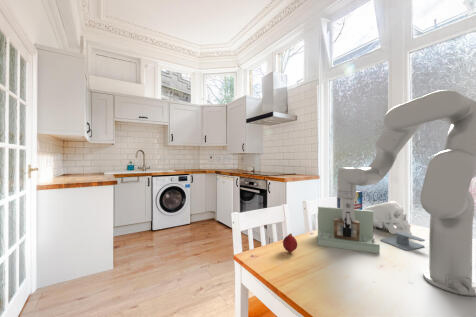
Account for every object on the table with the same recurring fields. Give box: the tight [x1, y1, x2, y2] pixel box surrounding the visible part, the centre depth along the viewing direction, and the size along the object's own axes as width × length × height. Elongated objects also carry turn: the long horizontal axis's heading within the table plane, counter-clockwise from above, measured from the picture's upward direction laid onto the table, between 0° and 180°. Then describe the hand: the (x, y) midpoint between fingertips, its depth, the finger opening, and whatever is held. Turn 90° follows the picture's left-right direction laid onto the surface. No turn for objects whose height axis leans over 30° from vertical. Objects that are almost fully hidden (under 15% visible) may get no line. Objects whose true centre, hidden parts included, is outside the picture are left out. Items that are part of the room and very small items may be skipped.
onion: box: [282, 233, 298, 253], centre depth 88 cm, size 6×6×8 cm
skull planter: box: [364, 200, 413, 235], centre depth 117 cm, size 14×20×19 cm
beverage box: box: [336, 190, 363, 210], centre depth 113 cm, size 7×11×22 cm, turn 115°
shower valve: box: [379, 232, 426, 252], centre depth 97 cm, size 12×6×15 cm
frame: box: [334, 218, 360, 241], centre depth 95 cm, size 4×10×8 cm, turn 69°
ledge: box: [317, 205, 381, 255], centre depth 97 cm, size 13×24×15 cm, turn 69°
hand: (346, 234), depth 95 cm, fingers closed on frame, 3 cm apart
